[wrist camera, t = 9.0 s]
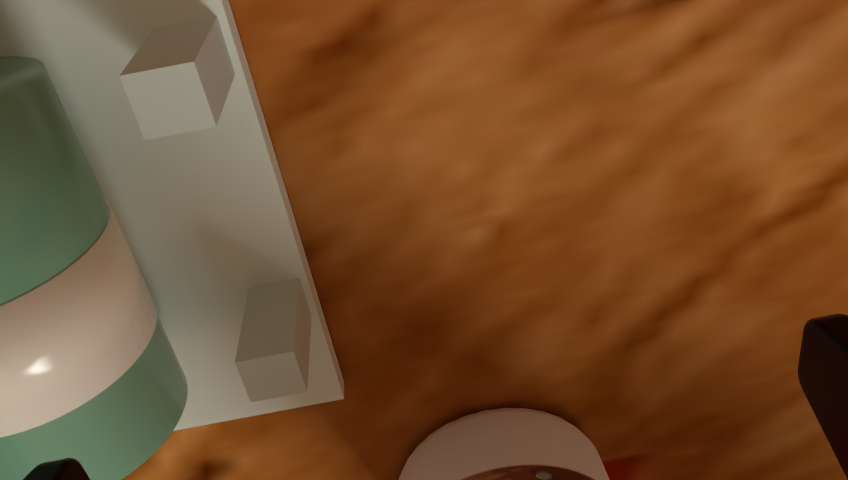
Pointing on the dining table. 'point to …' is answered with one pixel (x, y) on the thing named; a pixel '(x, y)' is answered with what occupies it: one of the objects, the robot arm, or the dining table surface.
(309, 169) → the dining table surface
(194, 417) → the white four-legged tray
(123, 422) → the bottle
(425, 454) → the milk bottle
